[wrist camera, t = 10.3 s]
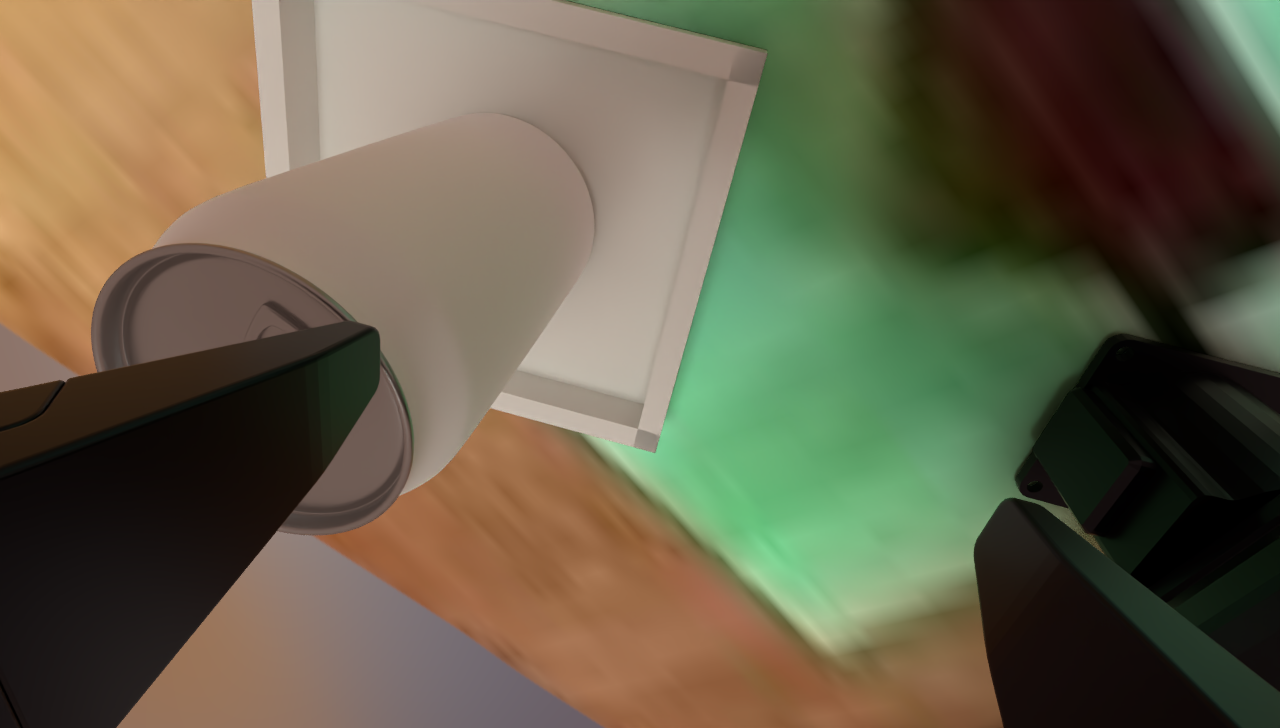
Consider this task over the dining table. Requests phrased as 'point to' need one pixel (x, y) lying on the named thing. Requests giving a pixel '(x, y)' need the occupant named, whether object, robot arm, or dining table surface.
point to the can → (374, 286)
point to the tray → (579, 123)
